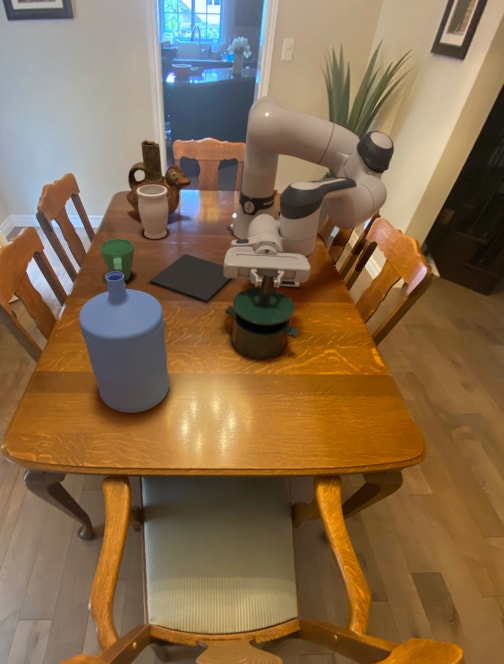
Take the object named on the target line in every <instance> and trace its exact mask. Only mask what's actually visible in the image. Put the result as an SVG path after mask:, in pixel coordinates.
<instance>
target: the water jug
mask: <svg viewBox="0 0 504 664" xmlns="http://www.w3.org/2000/svg"><path fill="white" fill-rule="evenodd" d="M104 279H105V281H106V288H107V290H106V291H104V292H101V293H99V294H97V295H95V296H93V297H92V298H90V299H88V300H87V301H86V302H85V303H84V304H85V305H84V306H83V305H82V307H81V309H80V311H79V314H78V320H79V328H80V331H81V336H82V338H83V340H84V342H85V346H86V350H87V353H88V357H89V363H90V366H91V369H92V371H93V373H94V376H95V380H96V383H97V389H98V393H99V396H100V398H101V400H102V401H103V403H104V404H105V405H106V406H107V407H109V408H111V409H112V410H115V411H117V412H121V413H127V414H129V413H130V414H134V413H141V412H145V411H148V410H150V409H153V408H154V407H156V406H157V405H159V404H160V403H161V402H162V401H163V400H164V399H165V398H166V396H167V394H168V393H169V392H168V391H169V388H170V378H169V374H168V354H167V353H168V352H167V348H166V336H165V335H166V334H165V315H164V312H163V307H162V304H161V303H160V302H159V300H158V299H157V298H156V297H155V296H153V295H152V294H150V293H148V292H145V291H142V290H139V289H132V288H127V286H126V281H124V274H123V273H122V272H118V271H113V272H110V271H108V272H107V273H106V274H105V276H104Z"/></svg>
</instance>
